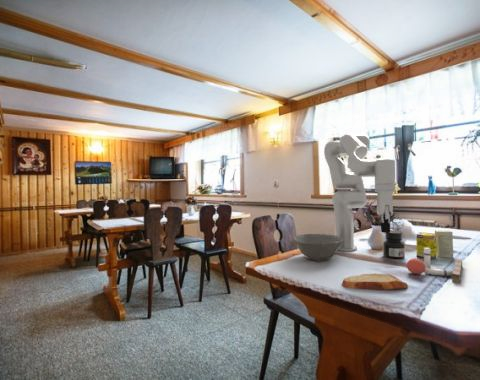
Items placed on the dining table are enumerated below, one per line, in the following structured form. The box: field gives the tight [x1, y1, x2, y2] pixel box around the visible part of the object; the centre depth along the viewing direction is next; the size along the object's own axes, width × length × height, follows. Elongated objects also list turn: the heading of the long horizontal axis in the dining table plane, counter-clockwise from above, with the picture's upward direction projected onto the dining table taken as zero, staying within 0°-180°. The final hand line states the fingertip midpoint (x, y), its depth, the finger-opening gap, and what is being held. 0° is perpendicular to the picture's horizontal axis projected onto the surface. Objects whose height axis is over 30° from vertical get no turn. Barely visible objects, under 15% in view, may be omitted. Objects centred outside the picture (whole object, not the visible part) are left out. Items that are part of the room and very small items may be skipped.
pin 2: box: [424, 268, 453, 278], centre depth 103 cm, size 2×2×8 cm
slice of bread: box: [341, 273, 409, 291], centre depth 95 cm, size 18×18×4 cm
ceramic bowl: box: [293, 233, 343, 262], centre depth 129 cm, size 22×23×10 cm
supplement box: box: [415, 232, 437, 260], centre depth 127 cm, size 6×6×11 cm
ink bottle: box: [382, 230, 406, 260], centre depth 129 cm, size 10×9×12 cm
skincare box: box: [434, 229, 454, 259], centre depth 128 cm, size 6×4×12 cm
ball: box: [406, 257, 425, 275], centre depth 105 cm, size 6×6×6 cm
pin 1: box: [423, 248, 432, 269], centre depth 110 cm, size 2×2×8 cm
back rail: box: [451, 258, 463, 284], centre depth 104 cm, size 24×2×3 cm, turn 139°
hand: (385, 232), depth 112 cm, fingers closed
